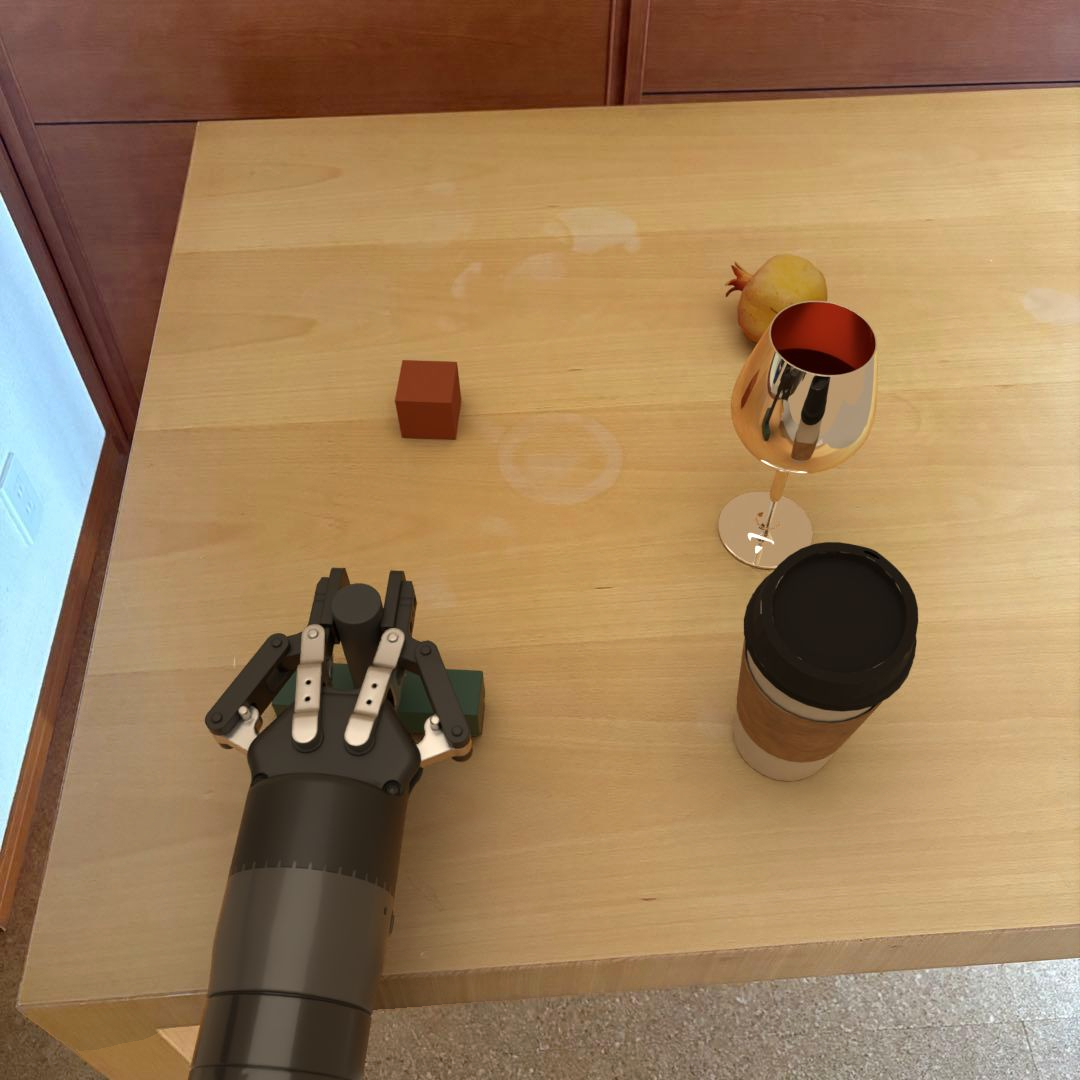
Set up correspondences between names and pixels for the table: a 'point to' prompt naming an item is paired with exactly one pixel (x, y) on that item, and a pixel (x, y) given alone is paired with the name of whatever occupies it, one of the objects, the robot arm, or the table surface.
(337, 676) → the wiper
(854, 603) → the coffee cup
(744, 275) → the fruit
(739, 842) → the table surface
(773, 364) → the wineglass
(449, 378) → the rust-brown cube
